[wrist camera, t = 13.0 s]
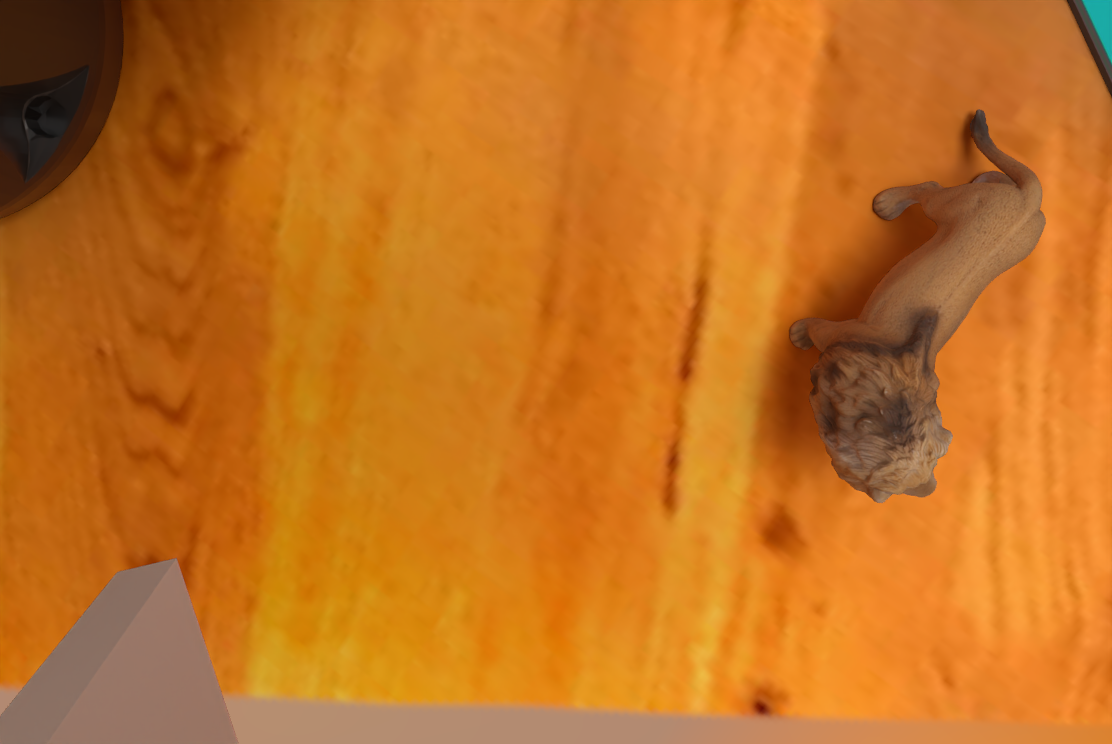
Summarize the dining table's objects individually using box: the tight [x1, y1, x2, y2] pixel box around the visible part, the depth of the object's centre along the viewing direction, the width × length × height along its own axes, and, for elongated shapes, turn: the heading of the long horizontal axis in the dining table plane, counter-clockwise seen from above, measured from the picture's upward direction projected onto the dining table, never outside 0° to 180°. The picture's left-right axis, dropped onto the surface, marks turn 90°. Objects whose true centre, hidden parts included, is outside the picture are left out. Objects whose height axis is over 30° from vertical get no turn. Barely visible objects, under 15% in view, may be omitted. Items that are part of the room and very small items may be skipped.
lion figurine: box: [790, 109, 1046, 503], centre depth 36 cm, size 15×5×9 cm, turn 155°
